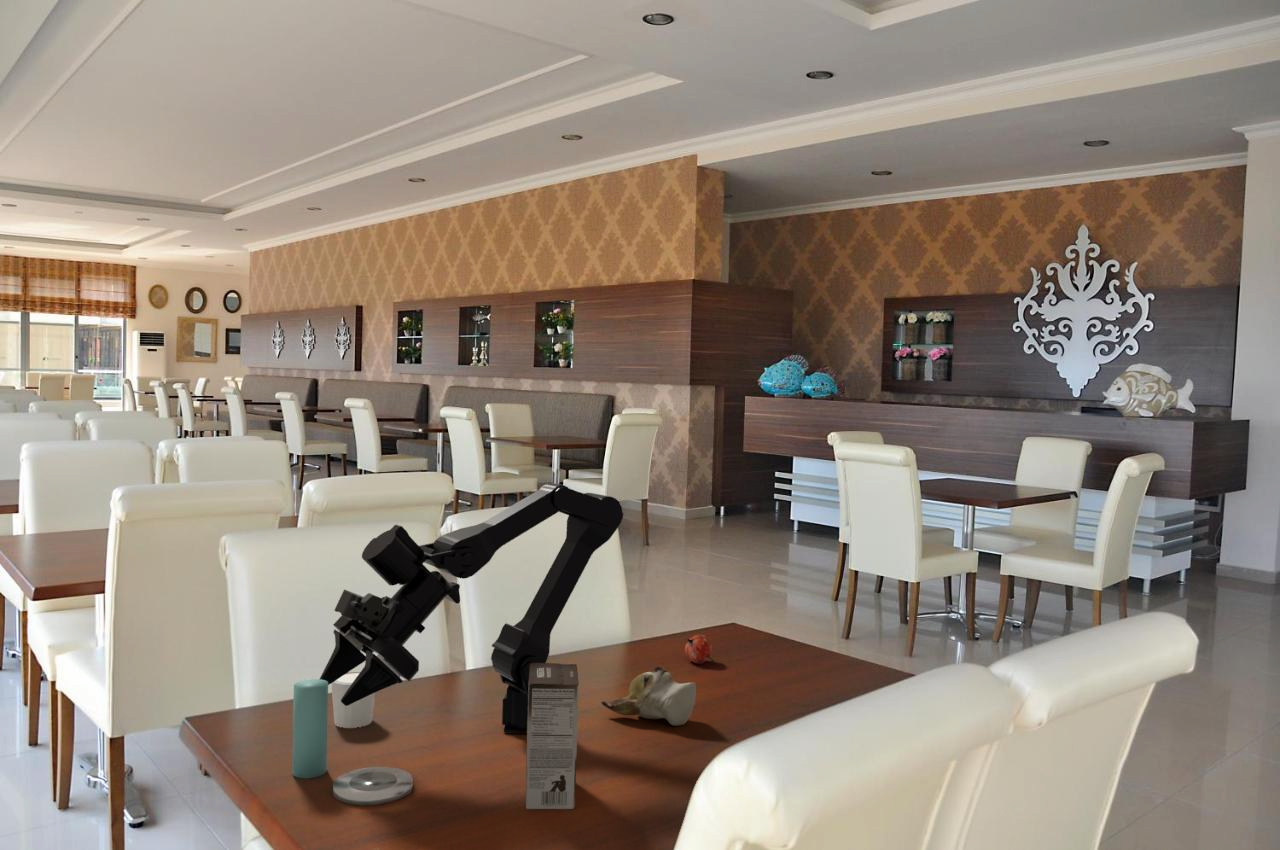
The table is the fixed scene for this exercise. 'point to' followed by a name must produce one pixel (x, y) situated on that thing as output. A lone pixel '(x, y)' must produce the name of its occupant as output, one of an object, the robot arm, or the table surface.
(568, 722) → the coffee box
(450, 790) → the table surface
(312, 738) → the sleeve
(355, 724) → the white candle cup
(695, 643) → the pomegranate
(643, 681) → the ceramic sculpture
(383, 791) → the hub disc
